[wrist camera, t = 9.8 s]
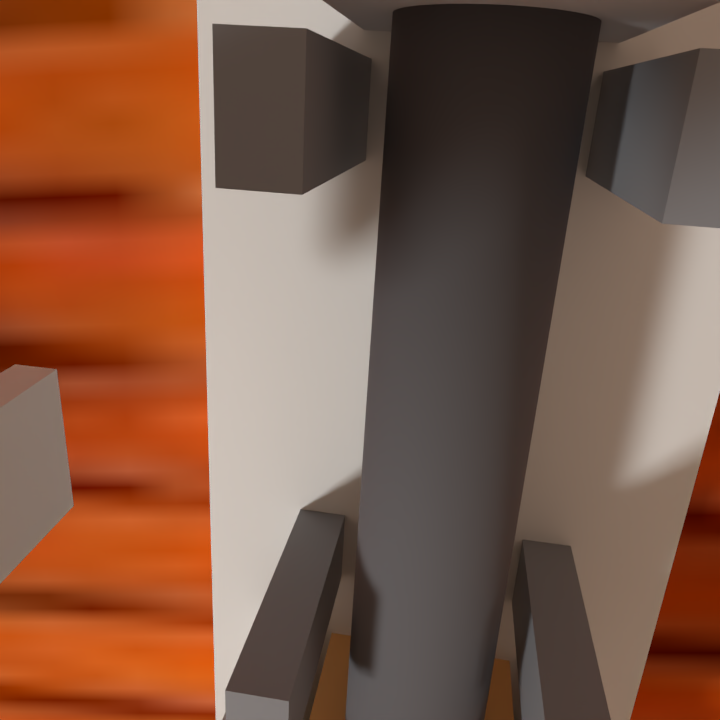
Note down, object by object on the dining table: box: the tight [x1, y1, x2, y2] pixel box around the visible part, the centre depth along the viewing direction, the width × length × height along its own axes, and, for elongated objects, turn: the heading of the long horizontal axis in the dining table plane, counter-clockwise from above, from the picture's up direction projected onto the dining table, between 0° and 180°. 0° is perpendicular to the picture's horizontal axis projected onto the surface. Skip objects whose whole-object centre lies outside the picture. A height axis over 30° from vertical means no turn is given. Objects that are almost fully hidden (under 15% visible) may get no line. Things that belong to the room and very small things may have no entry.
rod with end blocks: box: [309, 0, 720, 720], centre depth 14 cm, size 24×5×6 cm, turn 177°
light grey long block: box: [197, 0, 720, 720], centre depth 15 cm, size 28×12×7 cm, turn 177°
